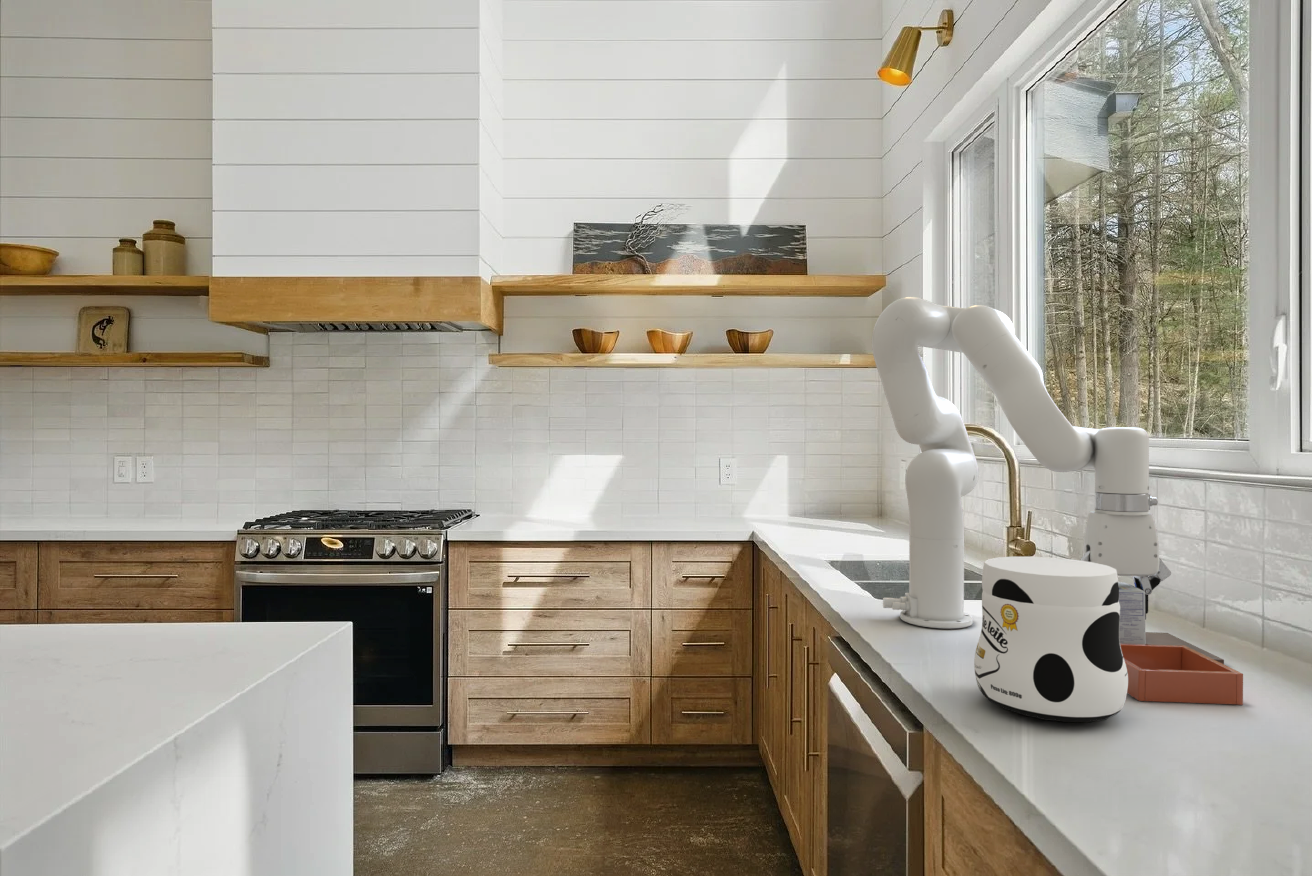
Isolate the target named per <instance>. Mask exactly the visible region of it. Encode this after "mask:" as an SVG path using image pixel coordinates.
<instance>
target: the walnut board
mask: <svg viewBox="0 0 1312 876" xmlns="http://www.w3.org/2000/svg"><path fill="white" fill-rule="evenodd" d="M1145 638H1146V644H1151V645H1185V646H1187V647H1189V648H1191V649H1193V650H1195V651H1197V652H1199V653H1201V654H1203V655H1205V656H1207V657H1209V658H1211V659H1214V660H1216V661H1218V662H1220V663H1222V664H1224V665H1225V660H1224V658H1221V657H1219V656H1217V655H1215V654H1213V653H1211V652H1209V651H1207V650H1204V649H1203V648H1200V647H1199V646H1197V645H1194V644H1192V643H1190V642H1187V640H1183V639H1181V638H1179V637H1177V636H1175V635H1173V634H1171V633H1169V632H1155V631H1154V632H1152V631H1145Z"/></svg>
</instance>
